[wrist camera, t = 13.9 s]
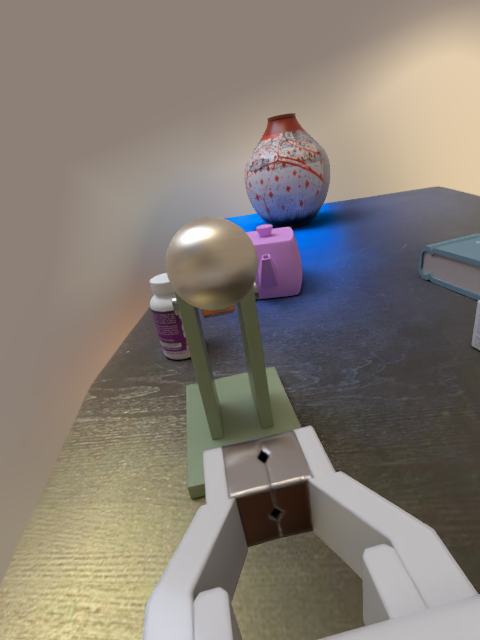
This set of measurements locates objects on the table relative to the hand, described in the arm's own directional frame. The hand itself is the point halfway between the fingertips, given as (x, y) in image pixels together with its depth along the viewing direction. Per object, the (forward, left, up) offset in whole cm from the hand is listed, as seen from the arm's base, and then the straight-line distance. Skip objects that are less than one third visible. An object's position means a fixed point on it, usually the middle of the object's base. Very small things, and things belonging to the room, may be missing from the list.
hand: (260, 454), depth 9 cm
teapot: (+10, +47, -14) cm, 50 cm away
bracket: (0, +16, -13) cm, 21 cm away
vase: (+27, +94, -14) cm, 99 cm away
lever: (0, +10, 0) cm, 10 cm away
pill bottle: (-5, +32, -14) cm, 35 cm away
